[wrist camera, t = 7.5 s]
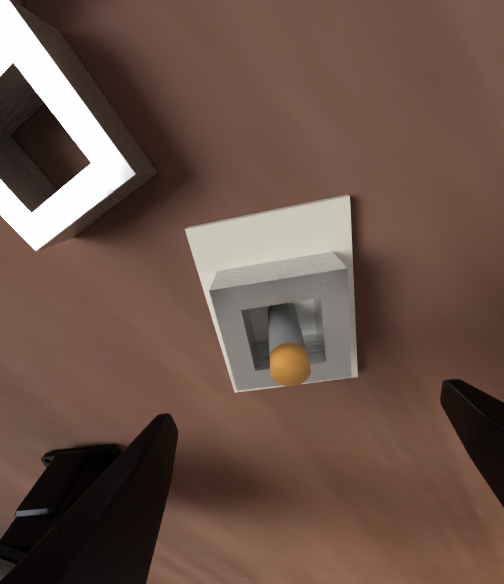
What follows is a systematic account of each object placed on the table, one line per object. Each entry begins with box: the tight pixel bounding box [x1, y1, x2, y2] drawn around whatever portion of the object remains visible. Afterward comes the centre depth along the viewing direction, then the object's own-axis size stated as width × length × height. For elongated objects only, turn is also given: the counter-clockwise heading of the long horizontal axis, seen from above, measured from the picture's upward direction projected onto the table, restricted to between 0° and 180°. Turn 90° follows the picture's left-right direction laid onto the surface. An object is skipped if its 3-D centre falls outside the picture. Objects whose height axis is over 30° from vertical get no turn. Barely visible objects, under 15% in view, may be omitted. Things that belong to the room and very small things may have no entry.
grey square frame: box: [0, 0, 158, 251], centre depth 11 cm, size 6×6×2 cm
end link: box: [209, 251, 352, 391], centre depth 14 cm, size 6×6×2 cm
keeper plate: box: [185, 195, 358, 392], centre depth 13 cm, size 11×8×5 cm
